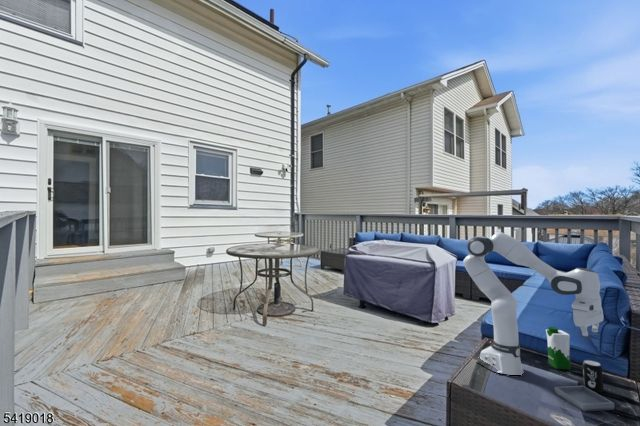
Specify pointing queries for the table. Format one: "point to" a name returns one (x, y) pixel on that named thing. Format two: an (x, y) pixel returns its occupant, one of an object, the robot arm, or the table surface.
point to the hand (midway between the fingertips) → (590, 333)
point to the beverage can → (593, 376)
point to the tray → (584, 398)
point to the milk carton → (558, 348)
